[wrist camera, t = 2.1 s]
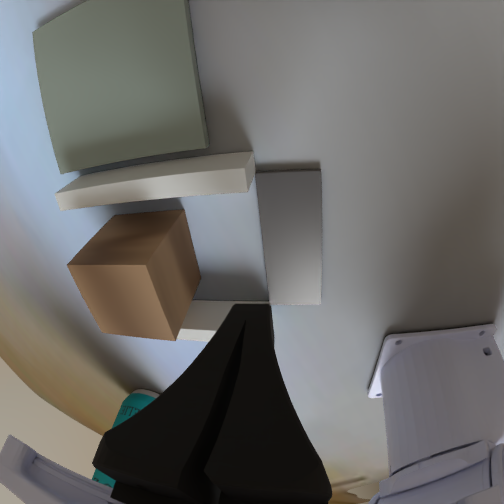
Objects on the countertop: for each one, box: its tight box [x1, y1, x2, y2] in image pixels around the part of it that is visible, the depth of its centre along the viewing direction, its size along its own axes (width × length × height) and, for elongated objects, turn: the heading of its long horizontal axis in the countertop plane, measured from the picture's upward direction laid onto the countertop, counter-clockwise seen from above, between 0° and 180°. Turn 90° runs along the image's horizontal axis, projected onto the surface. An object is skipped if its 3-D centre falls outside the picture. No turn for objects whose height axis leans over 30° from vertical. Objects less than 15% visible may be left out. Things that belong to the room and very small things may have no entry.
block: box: [67, 209, 201, 341], centre depth 15 cm, size 4×4×5 cm
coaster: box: [32, 0, 209, 174], centre depth 12 cm, size 9×9×1 cm
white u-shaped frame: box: [55, 151, 322, 342], centre depth 16 cm, size 13×10×2 cm
